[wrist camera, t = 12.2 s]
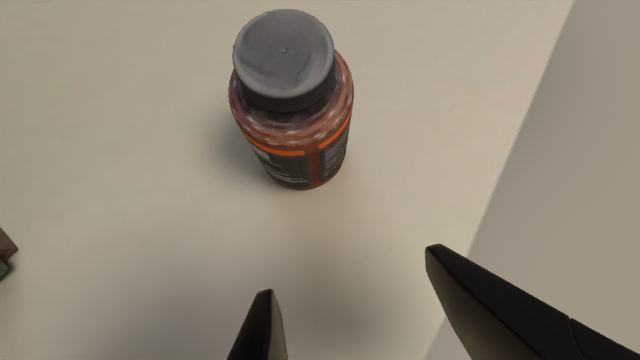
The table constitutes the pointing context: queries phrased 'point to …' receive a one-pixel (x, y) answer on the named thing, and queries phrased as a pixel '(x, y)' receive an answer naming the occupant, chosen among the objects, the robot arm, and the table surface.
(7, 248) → the cabinet
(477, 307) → the robot arm
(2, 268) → the drawer
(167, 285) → the table surface
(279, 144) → the supplement bottle
